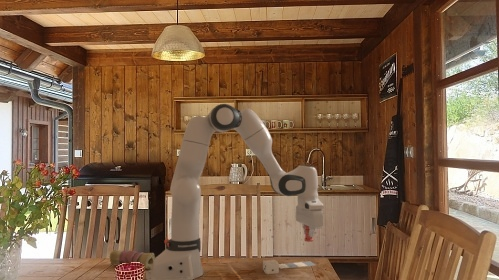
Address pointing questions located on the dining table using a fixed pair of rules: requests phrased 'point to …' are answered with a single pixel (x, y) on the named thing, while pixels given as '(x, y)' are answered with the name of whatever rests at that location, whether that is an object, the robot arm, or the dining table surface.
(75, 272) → the dining table surface
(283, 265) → the board
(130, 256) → the rolled towel
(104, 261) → the dining table surface
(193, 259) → the robot arm
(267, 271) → the die
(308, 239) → the pawn
